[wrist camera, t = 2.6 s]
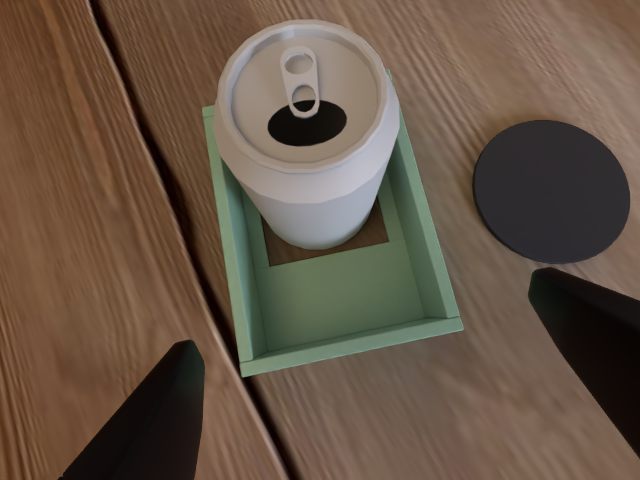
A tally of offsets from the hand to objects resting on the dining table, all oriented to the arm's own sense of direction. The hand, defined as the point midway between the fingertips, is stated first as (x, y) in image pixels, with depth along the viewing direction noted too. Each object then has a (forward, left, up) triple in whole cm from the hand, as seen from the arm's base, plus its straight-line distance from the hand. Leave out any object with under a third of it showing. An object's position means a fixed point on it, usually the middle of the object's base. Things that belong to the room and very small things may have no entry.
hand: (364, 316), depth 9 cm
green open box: (+4, +4, -13) cm, 15 cm away
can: (+5, +6, -14) cm, 16 cm away
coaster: (+15, -7, -13) cm, 21 cm away
